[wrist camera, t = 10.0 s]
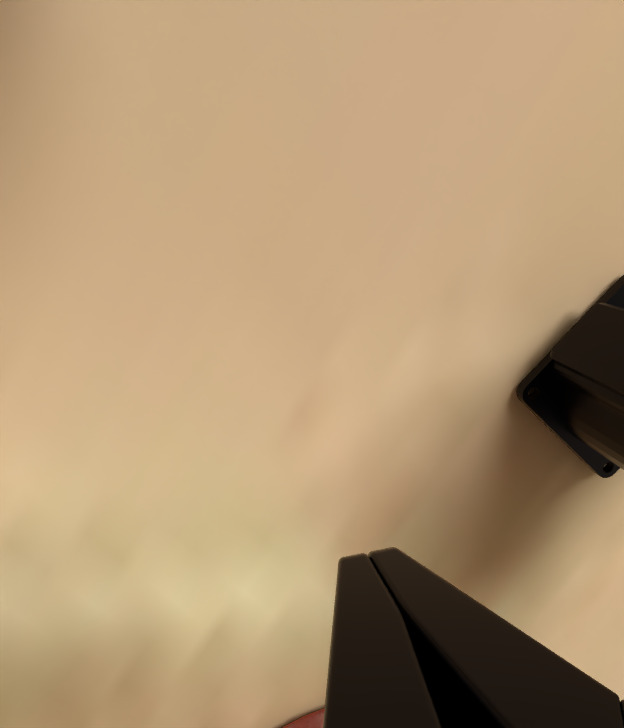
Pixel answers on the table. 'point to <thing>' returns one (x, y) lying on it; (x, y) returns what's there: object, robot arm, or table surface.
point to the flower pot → (309, 720)
